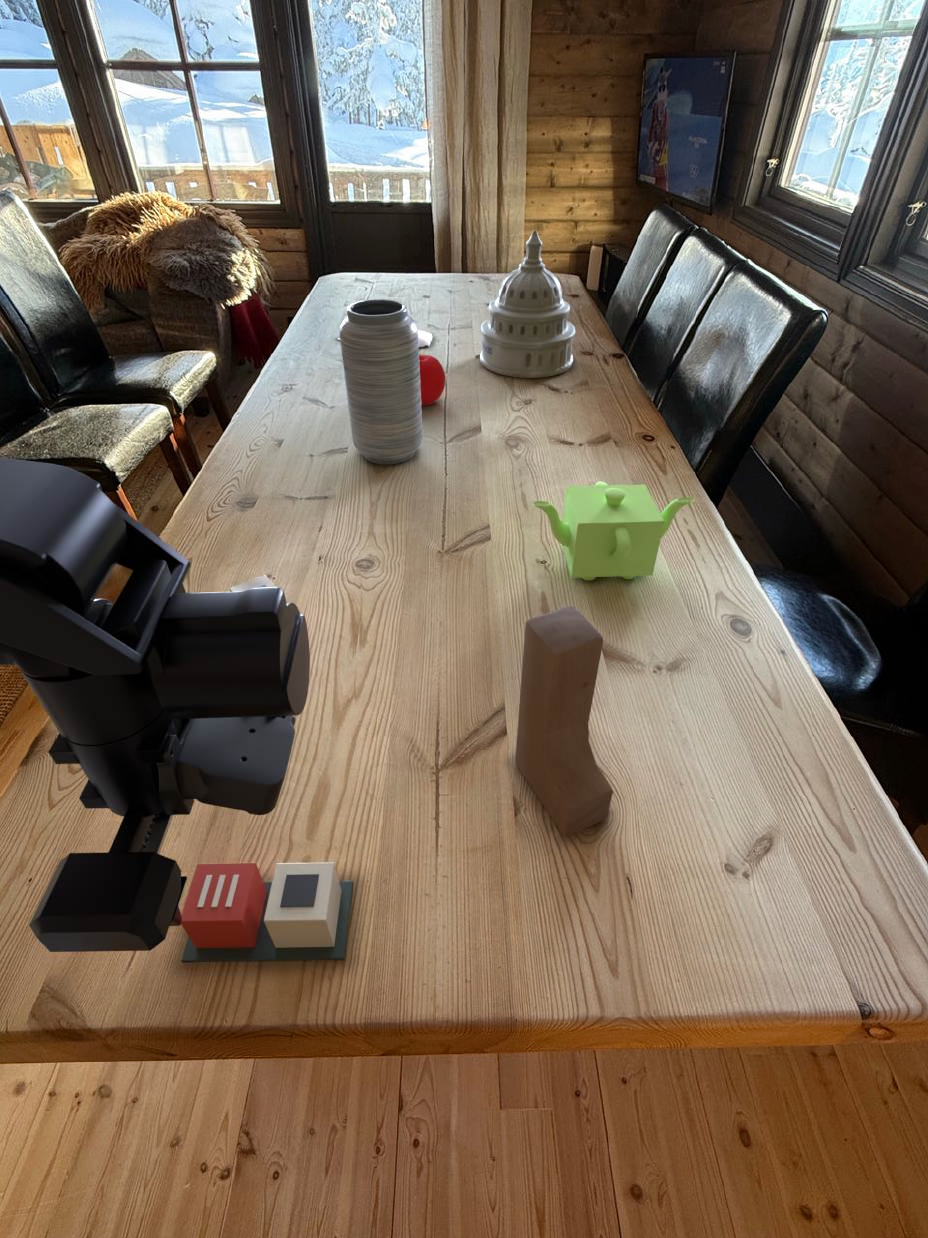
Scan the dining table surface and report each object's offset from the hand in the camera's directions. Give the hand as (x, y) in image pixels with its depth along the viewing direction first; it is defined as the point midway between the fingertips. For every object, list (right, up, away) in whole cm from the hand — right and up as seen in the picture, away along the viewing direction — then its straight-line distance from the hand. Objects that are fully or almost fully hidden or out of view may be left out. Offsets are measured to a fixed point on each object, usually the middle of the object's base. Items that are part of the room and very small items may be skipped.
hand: (194, 856), depth 45 cm
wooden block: (+27, +1, +15) cm, 31 cm away
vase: (+6, +44, +66) cm, 79 cm away
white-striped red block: (+1, -7, +6) cm, 9 cm away
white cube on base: (+4, -7, +6) cm, 10 cm away
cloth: (0, +82, +109) cm, 137 cm away
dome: (+32, +72, +98) cm, 126 cm away
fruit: (+10, +58, +82) cm, 101 cm away
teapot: (+37, +24, +41) cm, 60 cm away
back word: (-10, +14, +30) cm, 35 cm away
